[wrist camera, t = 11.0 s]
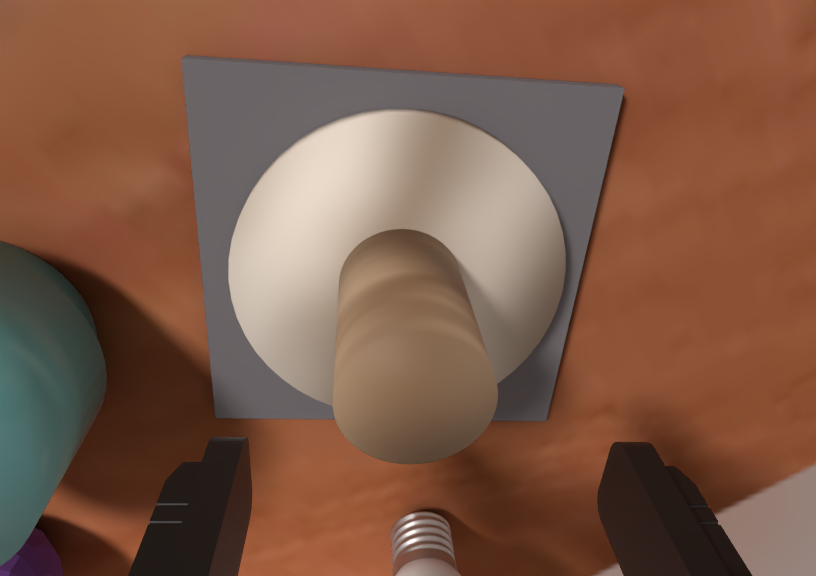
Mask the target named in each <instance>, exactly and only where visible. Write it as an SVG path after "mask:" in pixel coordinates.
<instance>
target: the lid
mask: <svg viewBox="0 0 816 576" xmlns="http://www.w3.org/2000/svg"><path fill="white" fill-rule="evenodd" d="M565 272H566V251H565V244H564V237H563V231H562V228H561V225H560V221H559V218H558V214H557V212H556V210H555V208H554V206H553V203H552V201H551V199H550V197H549V195H548V193H547V192H546V190H545V189H544V187H543V186H542V184H541V183H540V181H539V180H538V178H537V177H536V176H535V174H534V173H533V172H532V171H531V170H530V168H529V167H528V166H527V165H526V164H525V163H524V162H523V161H522V159H521V158H520V157H519V156H518V155H517V154H516V153H515V152H514V151H513V150H512V149H511V148H509V147H508V146H507V145H506V144H504V143H503V142H502V141H501V140H500V139H498V138H497V137H495V136H494V135H492V134H490V133H489V132H487V131H485V130H484V129H482V128H480V127H479V126H477V125H474V124H472V123H470V122H467V121H465V120H463V119H460V118H458V117H455V116H451V115H447V114H444V113H440V112H436V111H430V110H423V109H415V108H384V109H377V110H370V111H363V112H359V113H356V114H352V115H349V116H345V117H342V118H339V119H336V120H334V121H332V122H329V123H327V124H325V125H322V126H320V127H318V128H316V129H315V130H313V131H311V132H310V133H308V134H306V135H305V136H303V137H301V138H300V139H298V140H297V141H296V142H294V143H293V144H292V145H291V146H289V147H288V148H287V149H286V150H285V151H283V152H282V153H281V154H280V155H279V156H278V157H277V158H276V159H275V160H274V161H273V162H272V163H271V165H270V166H269V167H268V168H267V169H266V170H265V171H264V173H263V174H262V176H261V177H260V178H259V180H258V181H257V183H256V184H255V186H254V187H253V189H252V191H251V193H250V195H249V197H248V199H247V201H246V203H245V205H244V207H243V209H242V212H241V214H240V216H239V218H238V221H237V224H236V227H235V231H234V234H233V237H232V241H231V247H230V254H229V270H228V280H229V287H230V294H231V300H232V303H233V307H234V310H235V313H236V317H237V319H238V321H239V324H240V326H241V328H242V330H243V332H244V334H245V336H246V338H247V339H248V341H249V342H250V344H251V345H252V347H253V348H254V350H255V352H256V353H257V354H258V355H259V356H260V357H261V359H262V360H263V361H264V362H265V363H266V364H267V366H268V367H269V368H271V369H272V370H273V371H274V372H275V373H276V374H277V375H278V376H279V377H281V378H282V379H283V380H284V381H286V382H287V383H289V384H290V385H291V386H293V387H294V388H296V389H297V390H299V391H301V392H302V393H304V394H306V395H308V396H310V397H312V398H314V399H316V400H318V401H321V402H323V403H326V404H328V405H331V406H333V412H334V416H335V420H336V422H337V425H338V427H339V428H340V430H341V432H342V433H343V435H344V436H345V437H346V438H347V440H348V441H349V442H350V443H352V444H353V445H354V446H355V447H356V448H358V449H359V450H361V451H362V452H364V453H366V454H368V455H370V456H372V457H374V458H377V459H379V460H383V461H387V462H391V463H398V464H422V463H429V462H433V461H437V460H441V459H444V458H447V457H449V456H452V455H454V454H456V453H458V452H460V451H461V450H463V449H465V448H466V447H468V446H469V445H470V444H472V443H473V442H474V441H475V440H476V439H477V438H478V437H479V436H480V435H481V434H482V433H483V432H484V431H485V429H486V428H487V427H488V425H489V423H490V422H491V420H492V418H493V416H494V413H495V410H496V406H497V401H498V387H497V384H498V383H499V382H500V381H502V380H503V379H504V378H505V377H507V376H508V375H509V374H511V373H512V372H513V371H514V370H515V369H516V368H517V367H518V366H519V365H520V364H521V363H522V362H523V361H524V360H525V359H526V358H527V357H528V356H529V355H530V354H531V352H532V351H533V350H534V349H535V347H536V346H537V345H538V344H539V342H540V341H541V339H542V337H543V336H544V334H545V333H546V331H547V329H548V328H549V326H550V324H551V322H552V319H553V317H554V315H555V313H556V310H557V308H558V304H559V301H560V298H561V294H562V291H563V285H564V278H565Z"/></svg>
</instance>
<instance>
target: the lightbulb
mask: <svg viewBox="0 0 816 576" xmlns="http://www.w3.org/2000/svg"><path fill="white" fill-rule="evenodd" d="M390 537H391V548H392V565H393V569H392V571H393V576H461V574H460V573H459V572H458V571H457V565H456V562H455V556H454V548H453V541H452V538H451V531H450V526H449V523H448V522H447V520H446V519H444V518H443V517H442V516H440V515H438V514H436V513H432V512H426V511H420V512H414V513H410V514H407V515H405V516H403V517H402V518H400V519H399V520H398V521H397V522H396V523H395V524H394V525H393V527H392V529H391V533H390Z"/></svg>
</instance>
